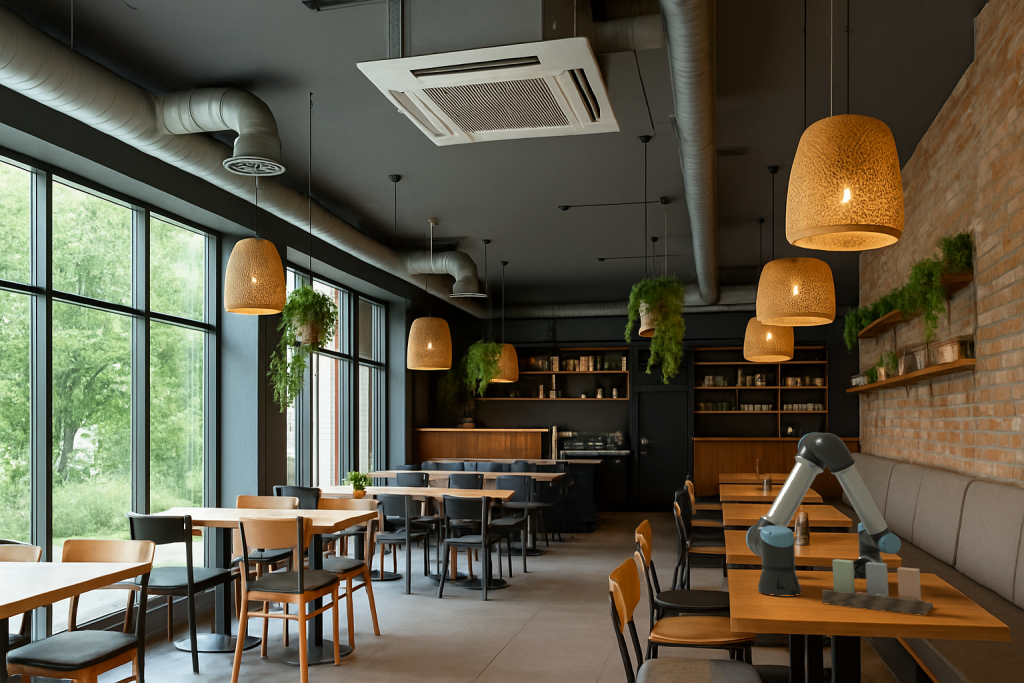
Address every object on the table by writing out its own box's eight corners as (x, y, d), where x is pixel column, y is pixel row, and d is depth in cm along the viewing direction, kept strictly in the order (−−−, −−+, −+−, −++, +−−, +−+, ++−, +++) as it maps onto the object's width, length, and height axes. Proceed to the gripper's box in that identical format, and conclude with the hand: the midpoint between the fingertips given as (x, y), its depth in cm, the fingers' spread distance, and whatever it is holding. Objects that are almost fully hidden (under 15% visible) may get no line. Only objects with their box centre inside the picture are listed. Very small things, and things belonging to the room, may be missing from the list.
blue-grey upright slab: (867, 599, 278) (865, 563, 279) (870, 597, 281) (868, 562, 282) (886, 601, 274) (884, 565, 275) (888, 599, 277) (886, 563, 279)
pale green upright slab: (834, 595, 284) (832, 560, 286) (837, 593, 288) (835, 559, 289) (852, 597, 281) (850, 562, 282) (855, 595, 284) (853, 560, 285)
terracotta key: (899, 606, 267) (897, 569, 269) (901, 603, 271) (899, 567, 272) (919, 608, 264) (917, 570, 265) (921, 606, 267) (919, 568, 268)
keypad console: (822, 603, 280) (821, 588, 280) (833, 596, 291) (833, 581, 291) (924, 616, 261) (924, 599, 261) (932, 607, 272) (931, 592, 273)
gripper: (883, 579, 302) (868, 590, 283) (846, 576, 310) (829, 586, 291) (882, 559, 303) (867, 568, 284) (845, 555, 310) (828, 565, 291)
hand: (848, 577), depth 287 cm, fingers closed
